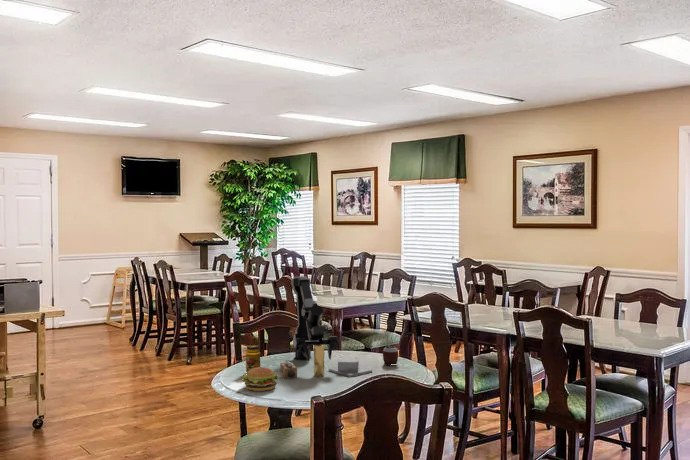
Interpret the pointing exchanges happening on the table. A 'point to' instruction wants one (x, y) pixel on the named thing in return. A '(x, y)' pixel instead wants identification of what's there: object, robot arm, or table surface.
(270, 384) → the food
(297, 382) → the table surface
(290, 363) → the drift
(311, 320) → the robot arm
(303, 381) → the table surface
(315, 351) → the tan cylinder
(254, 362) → the condiment
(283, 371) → the beam
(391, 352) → the mate gourd
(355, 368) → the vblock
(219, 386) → the table surface
